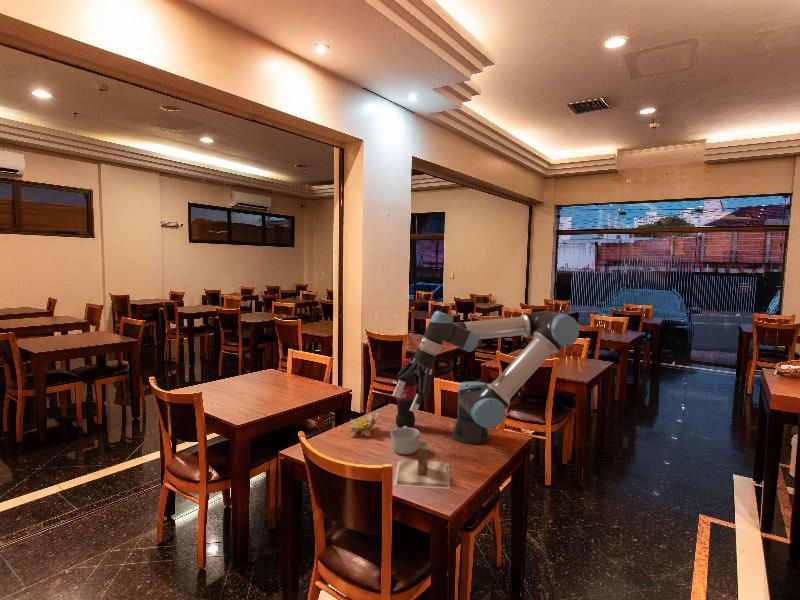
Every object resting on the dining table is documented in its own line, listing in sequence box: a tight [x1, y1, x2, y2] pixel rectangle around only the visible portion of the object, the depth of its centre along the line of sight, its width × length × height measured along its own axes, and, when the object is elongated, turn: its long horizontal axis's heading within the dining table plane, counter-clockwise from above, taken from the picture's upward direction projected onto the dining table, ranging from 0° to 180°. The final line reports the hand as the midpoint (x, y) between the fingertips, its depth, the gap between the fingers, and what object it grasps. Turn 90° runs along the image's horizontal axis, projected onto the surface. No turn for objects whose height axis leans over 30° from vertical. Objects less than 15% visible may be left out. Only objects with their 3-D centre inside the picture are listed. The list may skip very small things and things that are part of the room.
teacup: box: [390, 426, 420, 456], centre depth 175 cm, size 14×11×8 cm
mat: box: [393, 460, 451, 490], centre depth 155 cm, size 18×18×1 cm
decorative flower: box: [348, 412, 379, 437], centre depth 193 cm, size 15×11×10 cm
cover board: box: [397, 441, 447, 487], centre depth 154 cm, size 16×16×10 cm
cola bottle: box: [395, 358, 417, 428], centre depth 199 cm, size 8×8×30 cm
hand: (403, 403), depth 169 cm, fingers open, 13 cm apart
